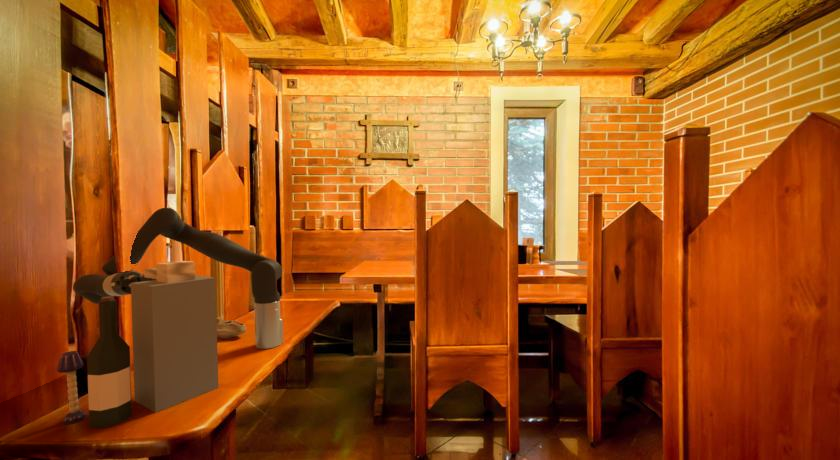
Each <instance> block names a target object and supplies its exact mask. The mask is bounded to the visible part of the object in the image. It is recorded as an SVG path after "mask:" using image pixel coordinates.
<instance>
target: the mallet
mask: <svg viewBox="0 0 840 460" xmlns="http://www.w3.org/2000/svg"><path fill="white" fill-rule="evenodd" d="M155 265H156V267H152V268H144V271H143V274H145V278H152V279H157V282H163V283H173V282H180V281H188V280H195V275H196V262H195V261H189V260H177V261H168V262H167V261H165V262H157V263H155Z"/></svg>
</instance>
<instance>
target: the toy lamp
mask: <svg viewBox="0 0 840 460" xmlns="http://www.w3.org/2000/svg"><path fill="white" fill-rule="evenodd" d="M83 367H84V362H83V360H82V358H81V355H80V354H79V352H78V350H71V351H67V352H64V353H61V355H60V357H59V361H58V365H57V368H56V371H57V373H59V374H61V373H63V374H64V373H65V375H66V382H67V383H66V387H67V388H68V389H67V394H68V396H67V400H68V406H69V409H68V410H69V412H68V413H67V414H66V415H65V416H64V417H63V420H62V424H63V425H70V424H74V423H78V422H80V421H83V420H85V419H86V417H87V413H86V412H85V411H84V410H82V409H80V406H79V399H78V398H79V395H78V390H79V389H78V387H77V386H78V382H77V378H78V377H77V375H76V374H77V370H80V369H82V368H83Z"/></svg>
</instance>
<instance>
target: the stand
mask: <svg viewBox="0 0 840 460" xmlns="http://www.w3.org/2000/svg"><path fill="white" fill-rule="evenodd" d="M216 282H217V281H216V277H213V276H203V275H196V274H195V280H188V281H180V282H173V283H163V282H157V280H151V281H143V282H135V283H131V294H130V295H131V296H130V297H131V298H130V299H131V301H130V303H131V331H132V359H133V360H132V362H133V363H132V364H133V365H132V366H133V388H134V389H133V390H134V391H133V393H134V402H136V403H137V404H138V405H141V406H143V407H145V408H146V409H148V410H150V411H152V412H154V413H158V412H161V411H164V410H166V409H168V408H171V407H173V406H176V405H179V404H181V403H183V401H184V402H186V401H189V400H192V399H193V398H195V397H199V396H201V395H204V394H206V393H209V392H211V391H214V390H217V389H219V363H218V362H219V361H218V360H219V359H218V358H219V357H218V336H217V318H218V317H217V291H216V290H217V288H216ZM188 399H189V400H188Z"/></svg>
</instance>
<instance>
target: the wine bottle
mask: <svg viewBox="0 0 840 460" xmlns="http://www.w3.org/2000/svg"><path fill="white" fill-rule="evenodd" d="M117 312H118V311H117V299H116V298H115V296H109V297H102V298H101V301H99V304H98V317H99V318H98V323H99V324H98V325H99V327H98V328H99V337H98V338H97V340H96V342H95V343H94V345H93V346H92V348H91V350H90V351H89V353H88V355H87V357H86V363H87V390H88V391H87V392H88V395H87V396H88V420H89V421H88V422H89V423H88V425H89V428H91V429H104V428H108V427H112V426H116V425H120V424H121V423H123V422H125V421H126V420H128V419H130V418H132V414H133V413H132V412H133V405H132V404H133V403H132V374H131V373H132V372H131V350H130V349H131V347H130V345H129V344H128V343H127V342H126V341H125V340H124V338H122V337H121V335H120V334H119V333H118V315H117Z"/></svg>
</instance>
